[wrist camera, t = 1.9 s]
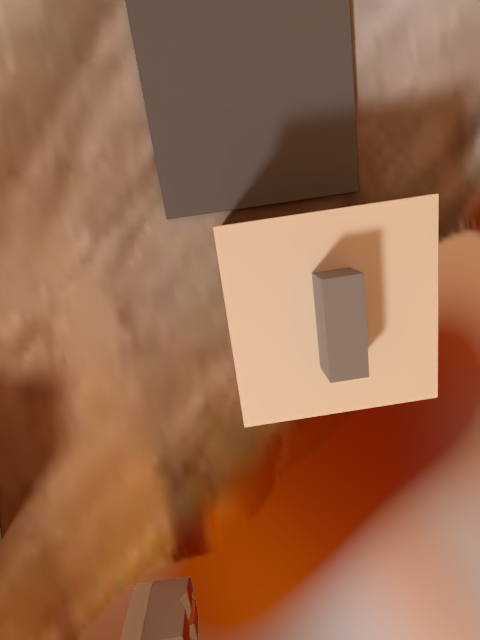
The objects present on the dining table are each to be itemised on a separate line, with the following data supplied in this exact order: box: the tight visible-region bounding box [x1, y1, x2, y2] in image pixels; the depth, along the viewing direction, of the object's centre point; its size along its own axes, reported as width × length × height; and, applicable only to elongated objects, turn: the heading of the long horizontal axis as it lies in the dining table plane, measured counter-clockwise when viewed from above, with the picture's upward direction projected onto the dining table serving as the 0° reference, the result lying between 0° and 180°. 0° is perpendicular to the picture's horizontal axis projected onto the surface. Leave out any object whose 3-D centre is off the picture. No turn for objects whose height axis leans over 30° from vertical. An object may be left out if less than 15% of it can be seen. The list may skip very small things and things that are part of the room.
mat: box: [125, 0, 359, 219], centre depth 35 cm, size 19×19×1 cm
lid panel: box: [213, 194, 439, 427], centre depth 30 cm, size 17×17×5 cm
